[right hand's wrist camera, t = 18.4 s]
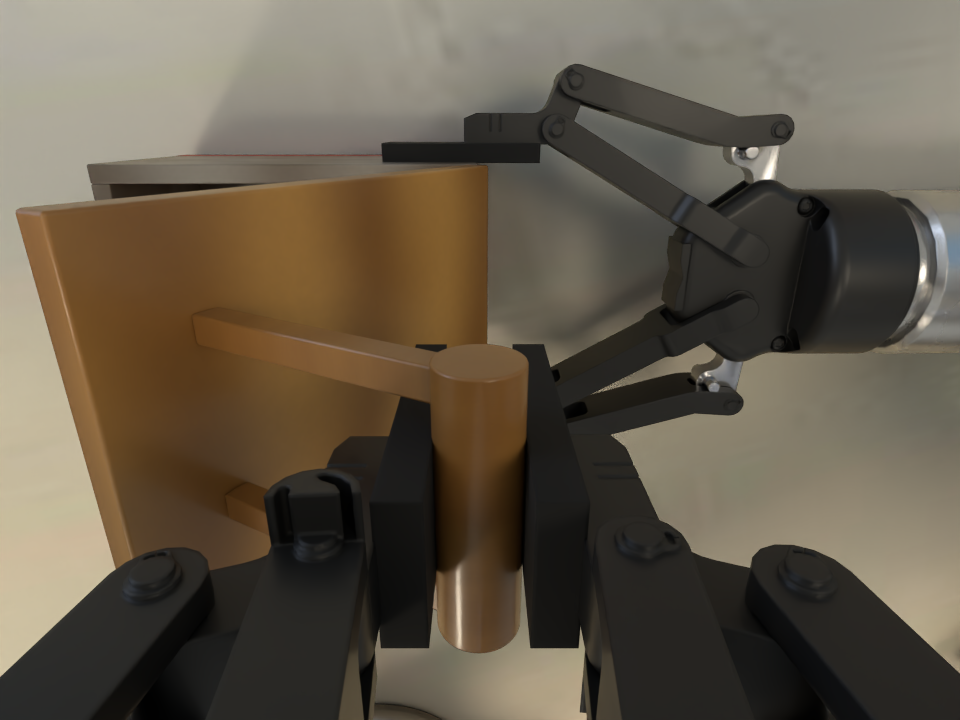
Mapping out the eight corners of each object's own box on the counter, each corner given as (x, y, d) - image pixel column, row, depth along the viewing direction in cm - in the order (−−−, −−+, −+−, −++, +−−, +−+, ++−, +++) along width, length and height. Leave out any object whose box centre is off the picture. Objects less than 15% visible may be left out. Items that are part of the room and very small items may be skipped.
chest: (217, 334, 34) (140, 399, 26) (186, 154, 31) (85, 164, 23) (474, 332, 35) (478, 395, 27) (473, 154, 31) (478, 163, 23)
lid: (135, 644, 14) (442, 847, 10) (11, 207, 10) (423, 257, 6) (469, 397, 26) (662, 444, 22) (468, 164, 23) (697, 172, 19)
